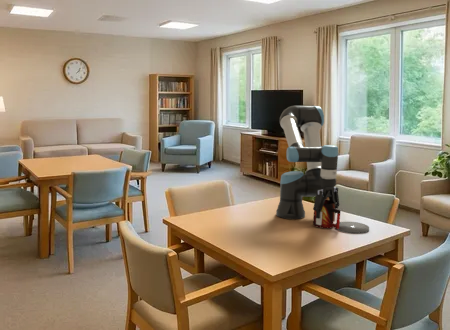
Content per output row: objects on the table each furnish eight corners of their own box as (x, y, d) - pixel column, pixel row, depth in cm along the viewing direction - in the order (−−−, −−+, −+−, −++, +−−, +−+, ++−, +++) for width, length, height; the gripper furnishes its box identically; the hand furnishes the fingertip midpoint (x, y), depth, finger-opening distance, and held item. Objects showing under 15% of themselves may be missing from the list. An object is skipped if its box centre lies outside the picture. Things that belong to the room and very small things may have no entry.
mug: (338, 231, 212) (340, 206, 210) (310, 225, 219) (312, 201, 217) (343, 226, 220) (346, 202, 218) (316, 221, 227) (318, 198, 225)
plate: (327, 227, 218) (328, 224, 218) (347, 222, 229) (347, 219, 228) (356, 235, 206) (356, 232, 206) (375, 229, 216) (375, 226, 216)
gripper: (319, 181, 206) (316, 228, 209) (349, 176, 220) (345, 220, 223) (306, 178, 211) (304, 224, 215) (336, 174, 225) (333, 217, 229)
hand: (325, 222), depth 219 cm, fingers closed on mug, 10 cm apart
